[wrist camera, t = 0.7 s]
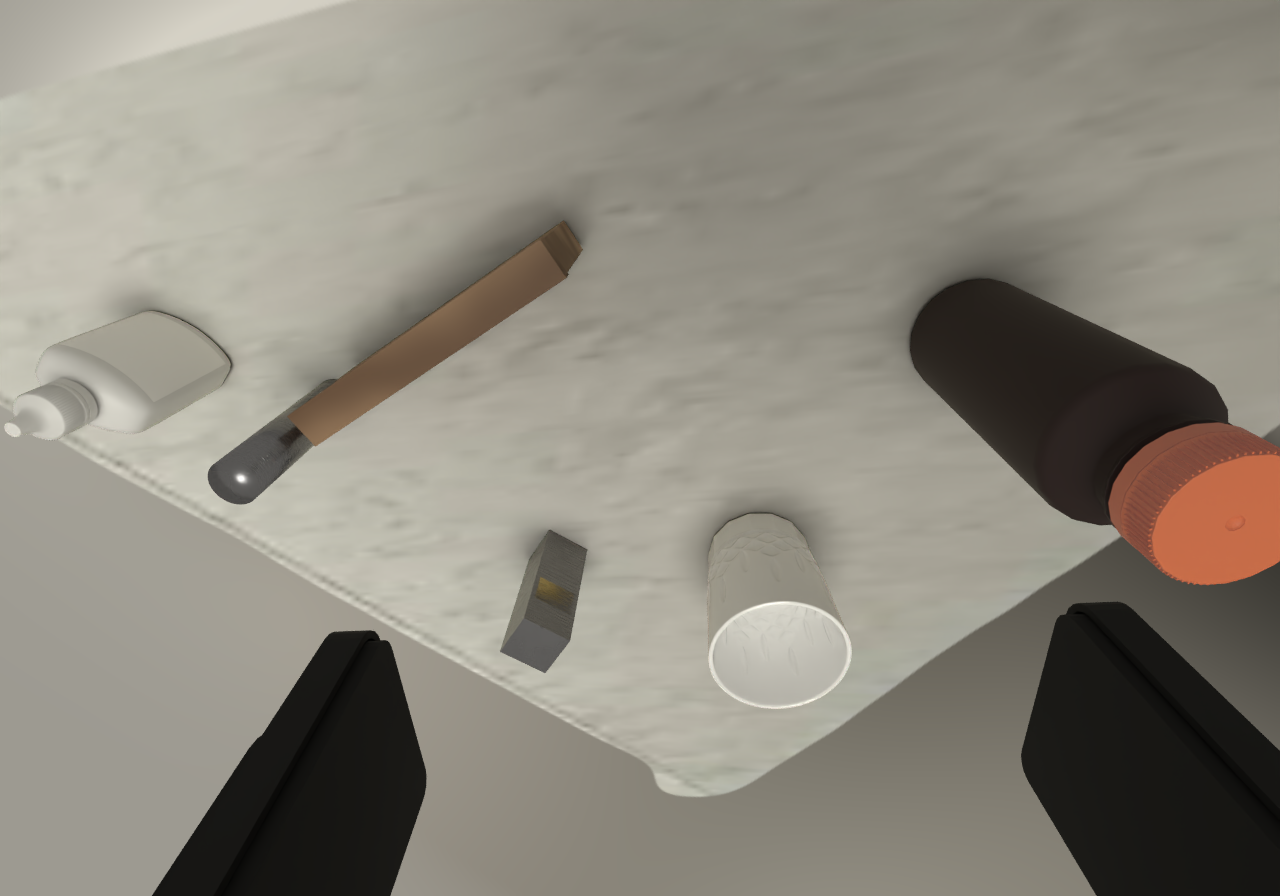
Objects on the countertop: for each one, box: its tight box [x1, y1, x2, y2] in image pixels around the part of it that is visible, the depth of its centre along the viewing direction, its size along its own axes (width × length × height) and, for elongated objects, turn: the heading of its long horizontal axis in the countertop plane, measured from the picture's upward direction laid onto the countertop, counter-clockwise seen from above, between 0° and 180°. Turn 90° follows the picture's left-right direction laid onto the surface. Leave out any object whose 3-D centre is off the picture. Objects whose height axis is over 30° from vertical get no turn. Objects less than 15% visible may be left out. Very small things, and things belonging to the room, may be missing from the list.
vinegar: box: [910, 279, 1280, 585], centre depth 29 cm, size 7×7×20 cm
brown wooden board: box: [287, 220, 583, 446], centre depth 34 cm, size 2×16×7 cm, turn 123°
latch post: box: [500, 530, 587, 673], centre depth 42 cm, size 3×3×9 cm
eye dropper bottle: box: [4, 311, 231, 440], centre depth 35 cm, size 4×6×12 cm
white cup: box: [707, 514, 852, 709], centre depth 41 cm, size 8×8×10 cm
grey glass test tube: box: [208, 379, 337, 504], centre depth 36 cm, size 2×2×11 cm
